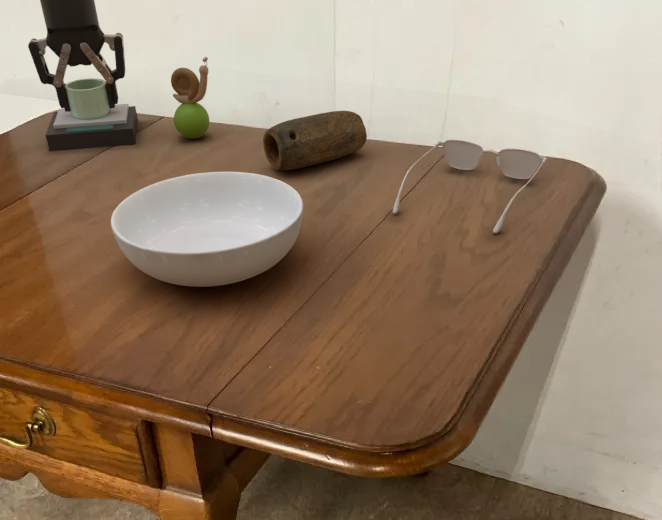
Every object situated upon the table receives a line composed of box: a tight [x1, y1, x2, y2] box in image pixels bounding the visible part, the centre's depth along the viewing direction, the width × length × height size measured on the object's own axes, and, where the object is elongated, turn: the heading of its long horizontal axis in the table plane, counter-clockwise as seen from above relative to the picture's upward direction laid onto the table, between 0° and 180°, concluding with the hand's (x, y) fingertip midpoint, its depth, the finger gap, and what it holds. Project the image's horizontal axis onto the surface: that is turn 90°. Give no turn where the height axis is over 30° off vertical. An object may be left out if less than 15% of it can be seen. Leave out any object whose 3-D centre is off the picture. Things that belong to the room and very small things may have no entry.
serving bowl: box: [110, 171, 304, 288], centre depth 86 cm, size 21×21×7 cm
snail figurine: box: [170, 56, 210, 140], centre depth 117 cm, size 5×6×12 cm
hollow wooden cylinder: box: [262, 110, 368, 172], centre depth 110 cm, size 15×7×7 cm, turn 130°
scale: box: [45, 103, 139, 151], centre depth 122 cm, size 13×11×3 cm
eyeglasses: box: [392, 139, 548, 234], centre depth 100 cm, size 15×18×4 cm
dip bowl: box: [65, 77, 111, 119], centre depth 120 cm, size 6×6×4 cm
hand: (90, 108), depth 121 cm, fingers closed on dip bowl, 6 cm apart
